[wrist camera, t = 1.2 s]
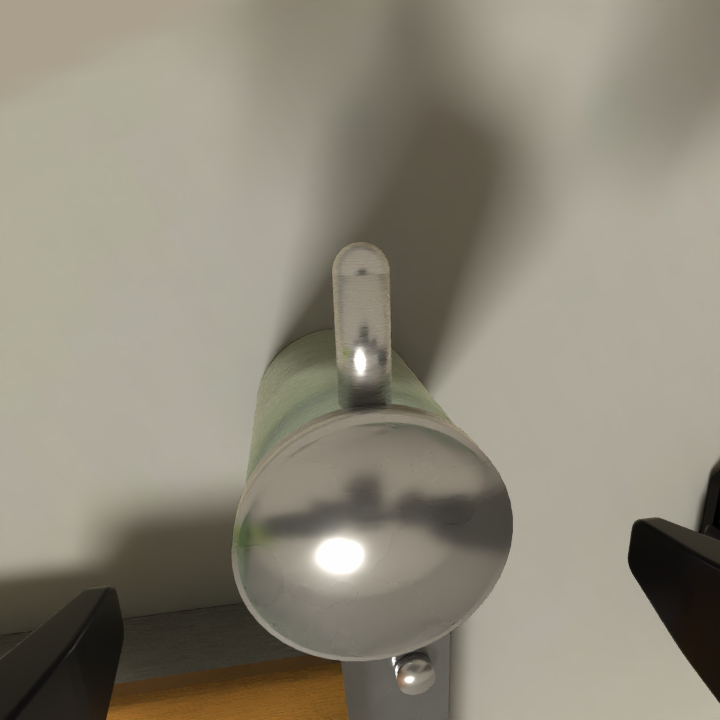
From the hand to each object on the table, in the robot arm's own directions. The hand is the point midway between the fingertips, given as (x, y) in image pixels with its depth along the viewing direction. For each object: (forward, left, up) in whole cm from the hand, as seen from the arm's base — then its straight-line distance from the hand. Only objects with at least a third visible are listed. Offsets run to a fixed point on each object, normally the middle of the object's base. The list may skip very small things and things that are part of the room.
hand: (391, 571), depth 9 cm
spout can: (0, -1, -8) cm, 8 cm away
